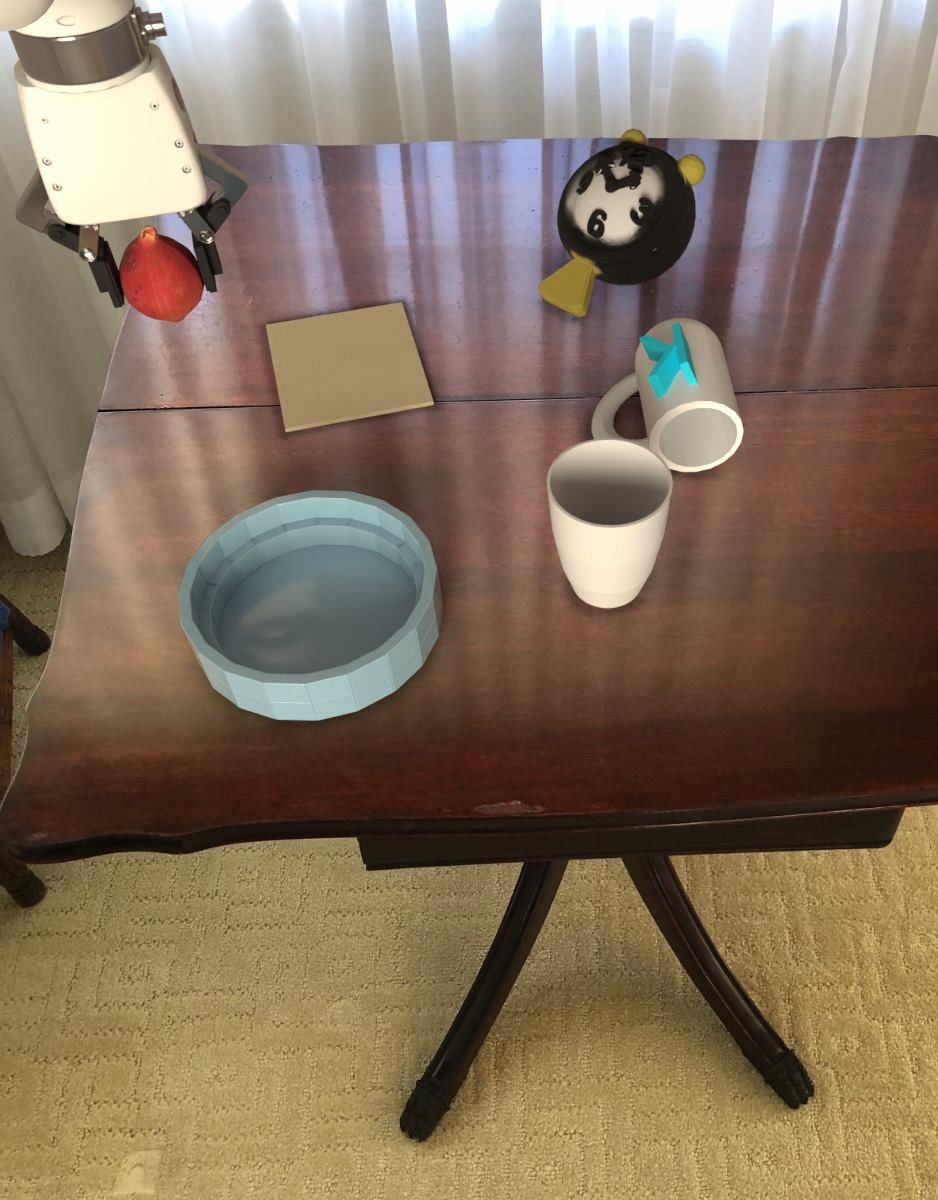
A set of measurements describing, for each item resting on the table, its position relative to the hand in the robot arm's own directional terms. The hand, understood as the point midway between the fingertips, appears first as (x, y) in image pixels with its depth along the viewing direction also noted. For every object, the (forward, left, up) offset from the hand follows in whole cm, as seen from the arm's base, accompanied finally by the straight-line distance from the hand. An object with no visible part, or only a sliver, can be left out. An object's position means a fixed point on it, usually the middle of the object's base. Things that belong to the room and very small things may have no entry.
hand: (164, 287), depth 82 cm
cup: (+26, -28, -11) cm, 40 cm away
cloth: (+12, +1, -11) cm, 16 cm away
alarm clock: (+38, +7, -11) cm, 40 cm away
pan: (+6, -26, -11) cm, 29 cm away
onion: (0, 0, -3) cm, 3 cm away
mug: (+35, -13, -11) cm, 39 cm away
